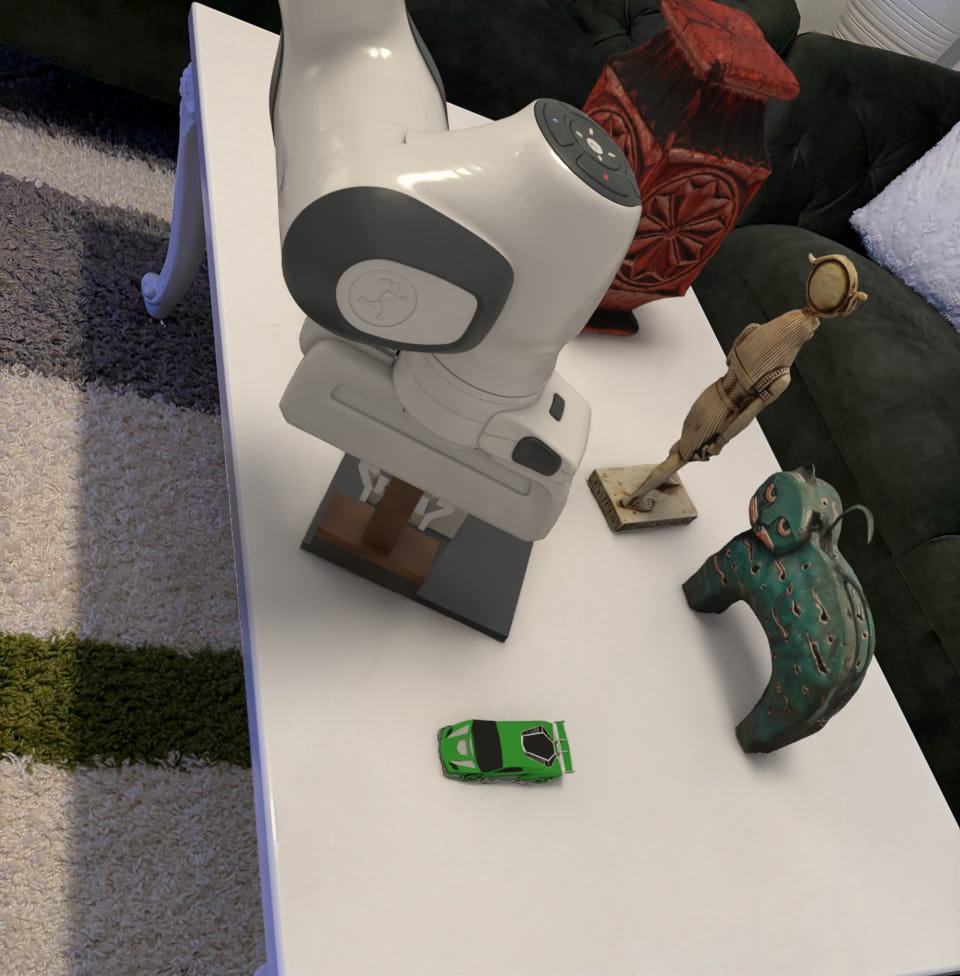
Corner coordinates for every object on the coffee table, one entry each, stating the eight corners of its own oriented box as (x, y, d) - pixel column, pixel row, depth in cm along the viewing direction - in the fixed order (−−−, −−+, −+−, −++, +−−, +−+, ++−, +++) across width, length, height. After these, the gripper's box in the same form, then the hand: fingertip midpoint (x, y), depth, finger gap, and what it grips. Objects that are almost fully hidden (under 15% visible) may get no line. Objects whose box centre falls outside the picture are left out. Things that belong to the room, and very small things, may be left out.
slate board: (299, 548, 71) (302, 541, 70) (360, 421, 81) (364, 413, 80) (503, 643, 75) (508, 637, 74) (539, 510, 84) (544, 503, 84)
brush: (307, 549, 70) (348, 456, 62) (324, 514, 73) (366, 420, 64) (413, 599, 72) (467, 515, 63) (426, 562, 74) (480, 477, 66)
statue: (695, 531, 92) (926, 298, 69) (617, 542, 87) (839, 292, 63) (662, 474, 95) (874, 230, 71) (584, 480, 89) (786, 219, 66)
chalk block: (408, 518, 76) (425, 488, 73) (421, 486, 78) (438, 456, 75) (451, 539, 77) (470, 510, 74) (463, 507, 79) (481, 478, 76)
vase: (507, 251, 104) (649, -30, 80) (602, 263, 111) (759, 8, 87) (551, 341, 98) (717, 68, 75) (648, 348, 105) (828, 101, 82)
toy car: (442, 783, 66) (454, 771, 64) (434, 724, 68) (445, 710, 66) (562, 785, 70) (576, 774, 68) (551, 729, 72) (565, 717, 71)
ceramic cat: (666, 569, 87) (807, 429, 72) (719, 574, 90) (866, 440, 75) (731, 763, 78) (909, 649, 63) (788, 761, 81) (972, 652, 66)
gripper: (295, 323, 53) (245, 474, 64) (599, 482, 57) (505, 598, 68) (330, 267, 57) (278, 418, 67) (612, 419, 61) (521, 539, 72)
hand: (393, 509), depth 68 cm, fingers closed on brush, 2 cm apart
